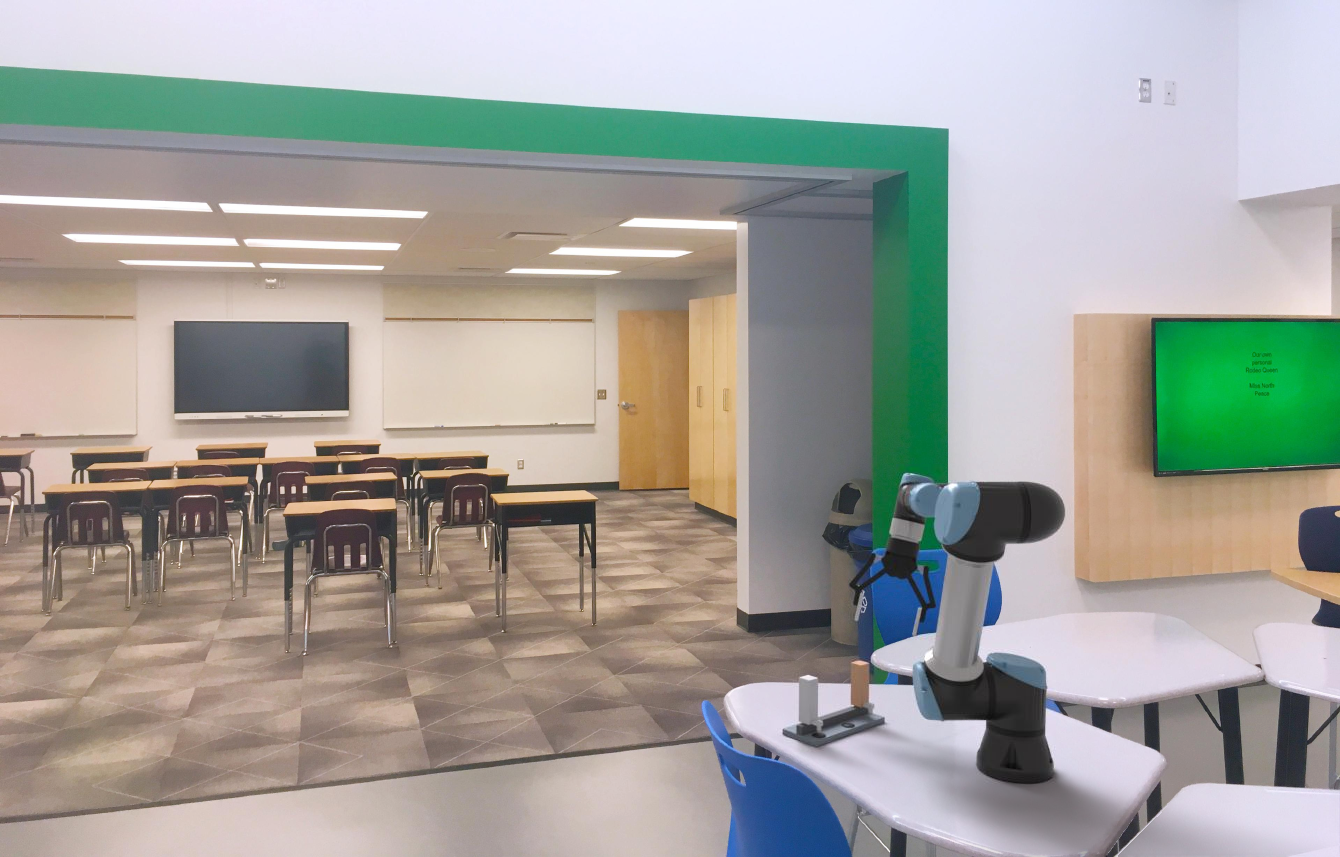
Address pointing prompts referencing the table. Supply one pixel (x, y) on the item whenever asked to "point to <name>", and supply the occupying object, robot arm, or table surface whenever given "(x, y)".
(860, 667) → the post
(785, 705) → the table surface
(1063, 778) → the table surface
